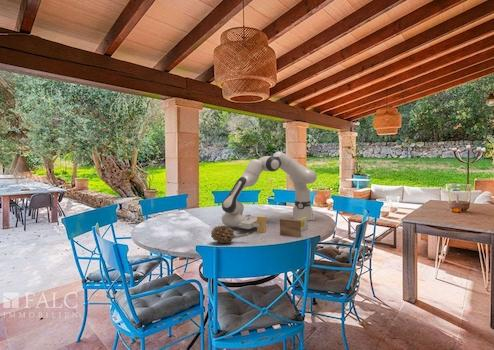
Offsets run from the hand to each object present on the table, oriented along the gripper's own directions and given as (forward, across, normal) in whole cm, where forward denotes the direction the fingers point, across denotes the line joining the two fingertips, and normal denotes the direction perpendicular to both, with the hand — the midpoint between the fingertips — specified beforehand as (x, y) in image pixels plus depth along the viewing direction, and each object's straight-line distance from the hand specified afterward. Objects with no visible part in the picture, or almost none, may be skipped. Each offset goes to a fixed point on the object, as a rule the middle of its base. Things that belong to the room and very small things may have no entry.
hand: (262, 223), depth 183 cm
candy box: (+22, +12, +6) cm, 25 cm away
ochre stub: (-1, 0, +5) cm, 5 cm away
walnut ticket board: (+19, 0, +6) cm, 19 cm away
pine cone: (-8, -28, +6) cm, 30 cm away
